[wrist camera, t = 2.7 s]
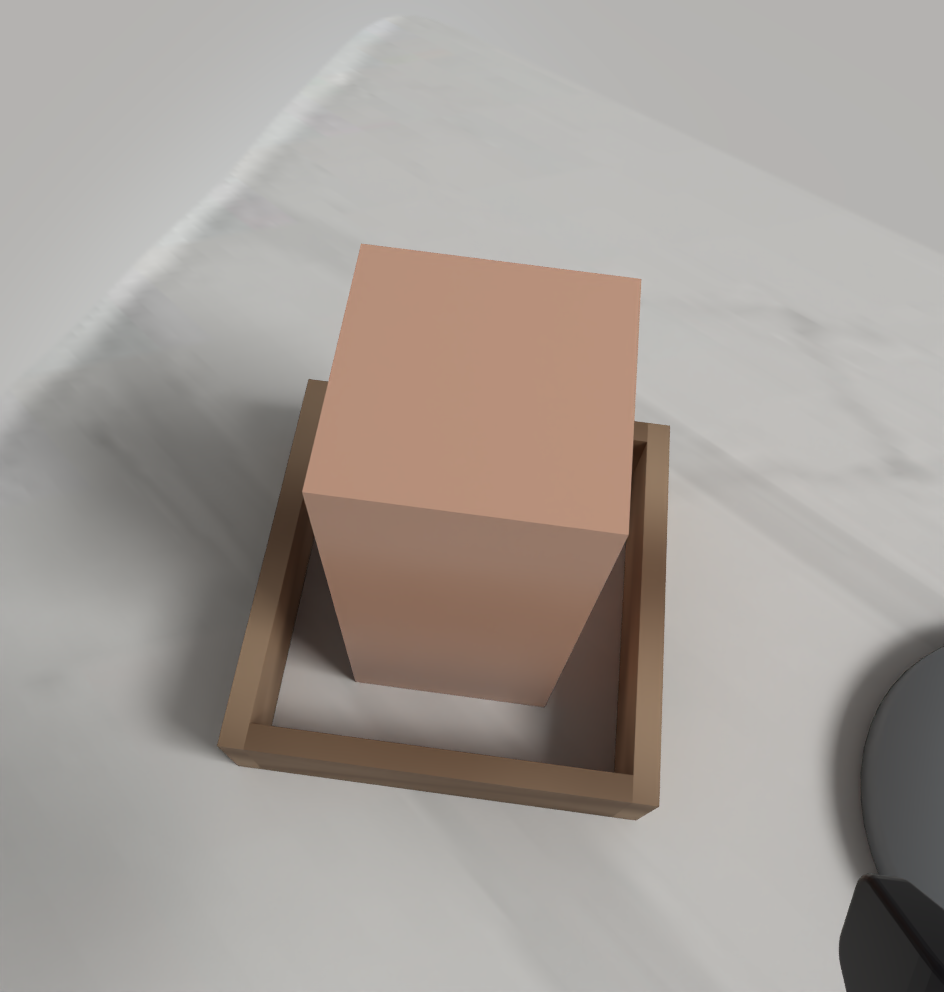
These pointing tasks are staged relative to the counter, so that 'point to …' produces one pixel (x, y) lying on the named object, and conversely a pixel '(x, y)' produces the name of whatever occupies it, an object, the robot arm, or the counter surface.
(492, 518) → the tan rectangular block
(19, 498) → the counter surface
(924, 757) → the coaster
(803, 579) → the counter surface
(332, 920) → the counter surface
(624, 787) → the wooden tray
